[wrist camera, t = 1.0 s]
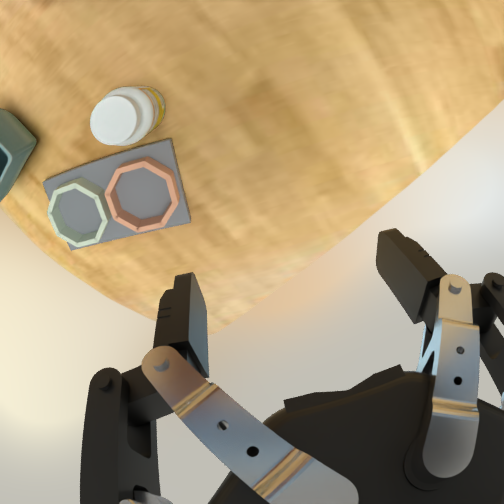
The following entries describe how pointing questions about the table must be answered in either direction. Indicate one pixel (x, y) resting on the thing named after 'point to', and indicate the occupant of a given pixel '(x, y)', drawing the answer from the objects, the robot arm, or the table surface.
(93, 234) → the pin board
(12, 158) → the flower pot
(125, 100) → the supplement bottle
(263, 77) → the table surface
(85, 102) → the table surface
